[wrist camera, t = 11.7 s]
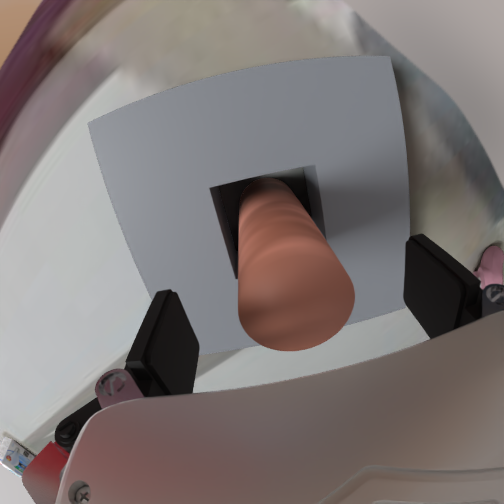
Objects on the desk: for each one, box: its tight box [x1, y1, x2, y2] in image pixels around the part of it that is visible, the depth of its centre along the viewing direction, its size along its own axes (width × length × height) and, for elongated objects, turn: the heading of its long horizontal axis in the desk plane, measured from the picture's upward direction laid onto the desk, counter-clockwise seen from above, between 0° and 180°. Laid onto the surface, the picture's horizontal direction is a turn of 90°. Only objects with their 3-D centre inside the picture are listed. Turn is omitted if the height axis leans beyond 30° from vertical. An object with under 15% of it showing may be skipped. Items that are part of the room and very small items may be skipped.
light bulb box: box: [0, 437, 34, 478], centre depth 44 cm, size 11×7×11 cm, turn 21°
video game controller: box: [473, 246, 504, 289], centre depth 22 cm, size 10×5×7 cm, turn 19°
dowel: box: [238, 178, 355, 351], centre depth 15 cm, size 4×4×12 cm
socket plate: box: [88, 56, 410, 355], centre depth 18 cm, size 18×18×4 cm
